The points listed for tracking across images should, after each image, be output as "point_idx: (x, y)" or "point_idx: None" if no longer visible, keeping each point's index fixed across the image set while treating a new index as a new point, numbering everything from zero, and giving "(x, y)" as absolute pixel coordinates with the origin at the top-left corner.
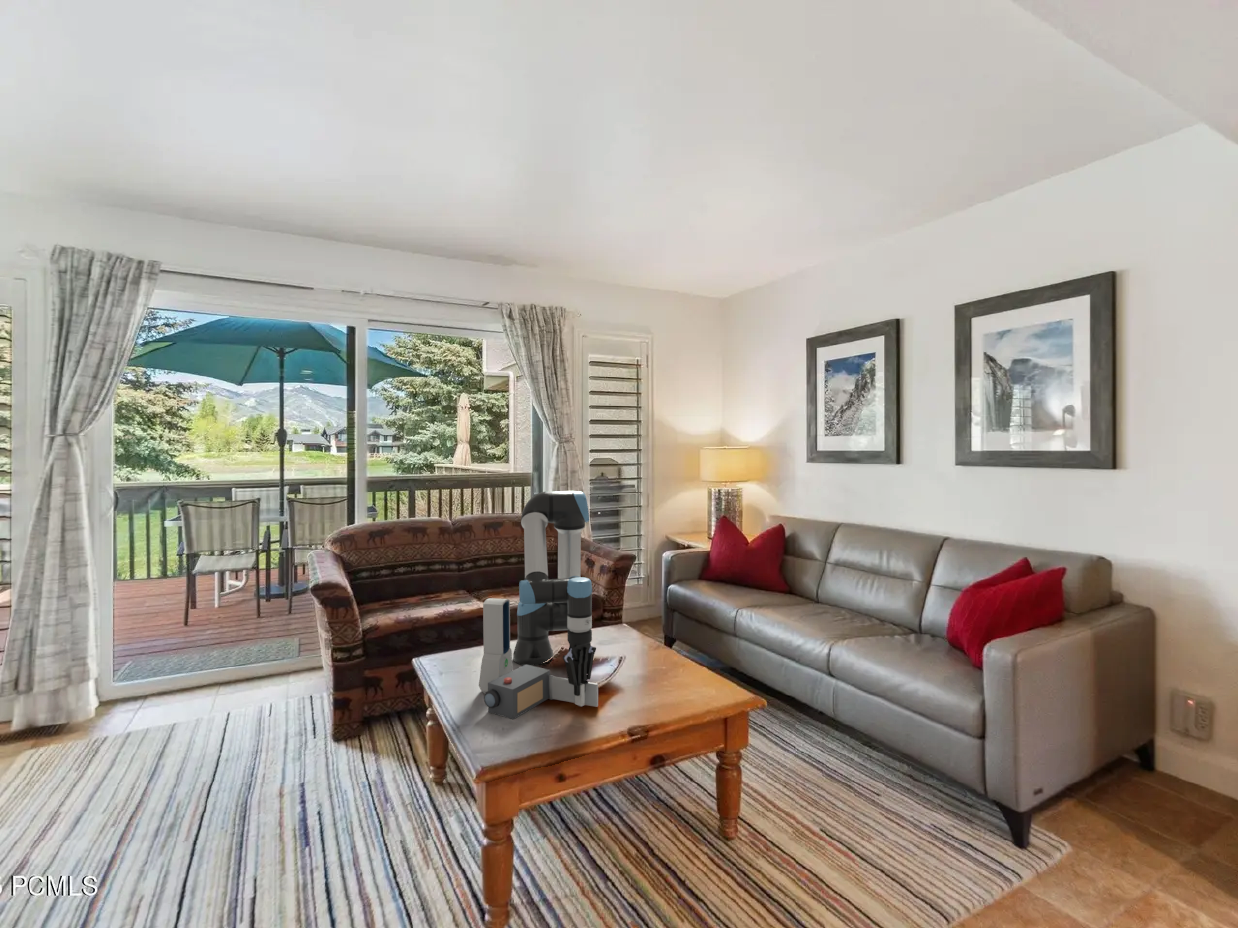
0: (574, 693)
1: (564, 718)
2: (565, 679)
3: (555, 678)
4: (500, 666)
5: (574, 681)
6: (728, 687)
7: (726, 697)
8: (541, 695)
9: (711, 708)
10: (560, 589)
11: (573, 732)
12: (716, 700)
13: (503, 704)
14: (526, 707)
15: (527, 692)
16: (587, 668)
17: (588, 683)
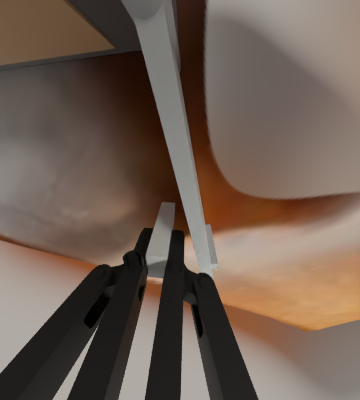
0: (140, 234)
1: (111, 204)
2: (174, 171)
3: (149, 73)
4: None
5: (94, 304)
6: (355, 318)
7: (313, 320)
8: (94, 41)
9: (271, 317)
10: None
11: (93, 243)
12: (300, 317)
13: None
14: (4, 64)
15: None
16: (204, 357)
17: (199, 266)
